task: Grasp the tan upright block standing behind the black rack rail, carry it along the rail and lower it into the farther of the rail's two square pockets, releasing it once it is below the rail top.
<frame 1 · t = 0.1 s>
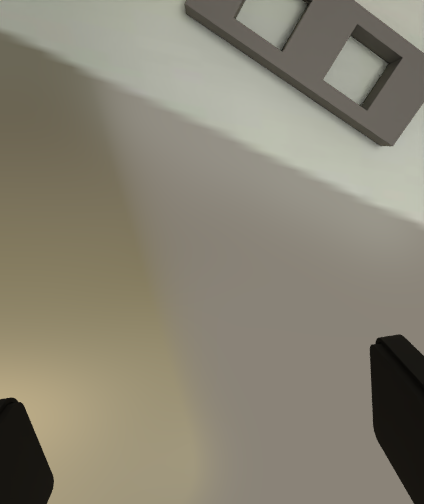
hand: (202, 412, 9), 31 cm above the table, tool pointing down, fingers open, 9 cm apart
rail: (311, 45, 34), on the table
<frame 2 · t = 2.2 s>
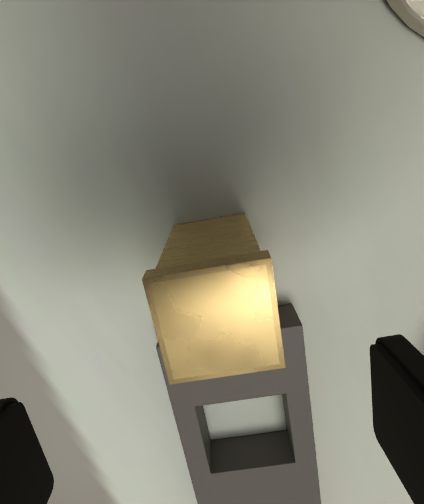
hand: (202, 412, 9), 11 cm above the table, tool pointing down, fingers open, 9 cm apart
tan upright block: (215, 252, 20), on the table
rail: (253, 460, 25), on the table
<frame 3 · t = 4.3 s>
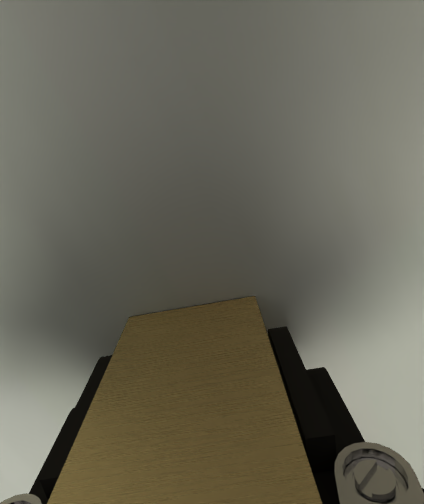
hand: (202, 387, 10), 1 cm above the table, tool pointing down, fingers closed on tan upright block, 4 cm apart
tan upright block: (203, 360, 11), on the table, touching gripper
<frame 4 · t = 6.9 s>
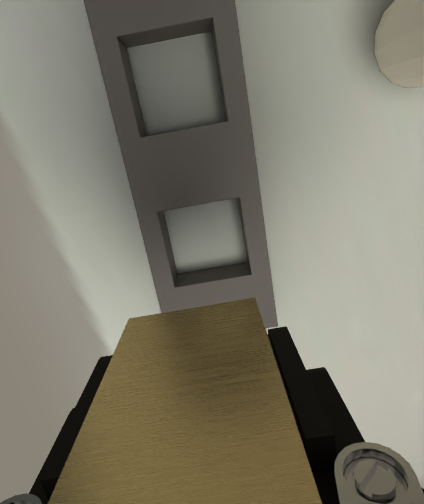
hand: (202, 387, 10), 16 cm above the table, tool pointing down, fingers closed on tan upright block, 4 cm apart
tan upright block: (203, 362, 11), point 15 cm above the table, touching gripper
rail: (192, 165, 24), on the table
shot glass: (417, 39, 22), on the table
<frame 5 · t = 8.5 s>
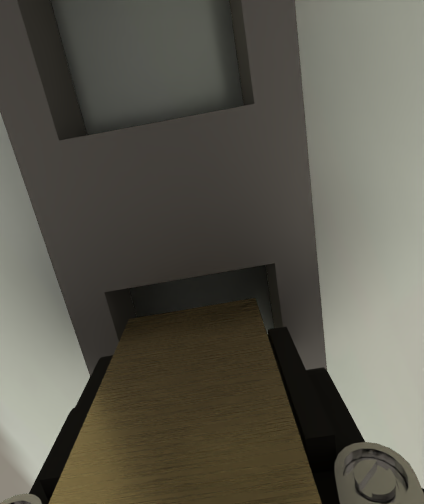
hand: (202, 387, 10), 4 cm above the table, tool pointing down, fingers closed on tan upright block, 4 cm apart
tan upright block: (203, 362, 11), point 3 cm above the table, touching gripper
rail: (179, 193, 12), on the table
when the fingers open (3 cm above the table, at t = 9.8 s): tan upright block drops 1 cm, resting in rail.
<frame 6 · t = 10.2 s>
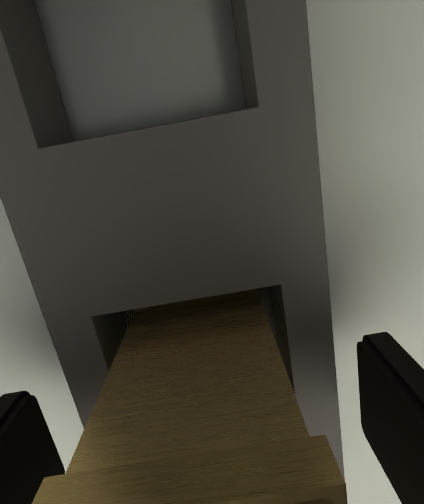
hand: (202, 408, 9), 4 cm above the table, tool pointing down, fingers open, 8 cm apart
tan upright block: (206, 334, 13), resting in rail
rail: (175, 204, 11), on the table
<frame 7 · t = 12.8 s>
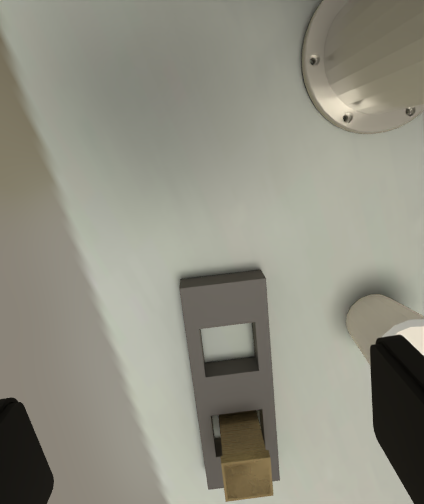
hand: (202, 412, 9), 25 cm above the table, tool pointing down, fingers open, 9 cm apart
tan upright block: (237, 415, 39), resting in rail
rail: (231, 378, 37), on the table
shot glass: (371, 317, 37), on the table
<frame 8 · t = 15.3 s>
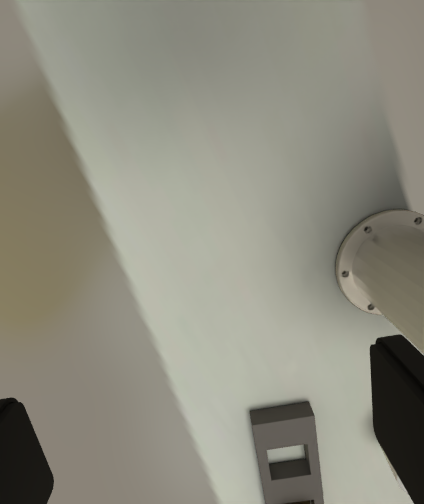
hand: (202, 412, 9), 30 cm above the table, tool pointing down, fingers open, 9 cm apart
tan upright block: (293, 498, 51), resting in rail
rail: (288, 473, 50), on the table
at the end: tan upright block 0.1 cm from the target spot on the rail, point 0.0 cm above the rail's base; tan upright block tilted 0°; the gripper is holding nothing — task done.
